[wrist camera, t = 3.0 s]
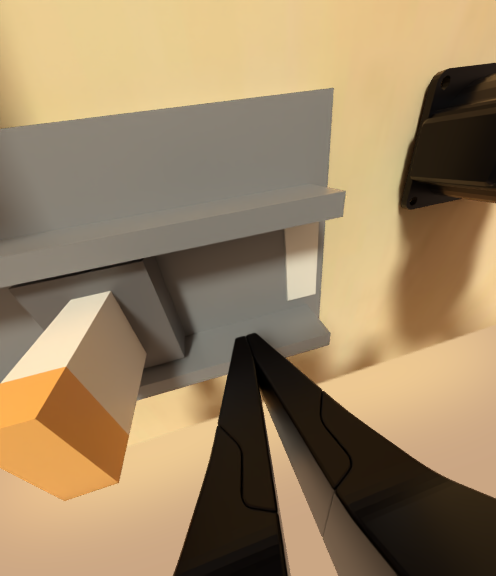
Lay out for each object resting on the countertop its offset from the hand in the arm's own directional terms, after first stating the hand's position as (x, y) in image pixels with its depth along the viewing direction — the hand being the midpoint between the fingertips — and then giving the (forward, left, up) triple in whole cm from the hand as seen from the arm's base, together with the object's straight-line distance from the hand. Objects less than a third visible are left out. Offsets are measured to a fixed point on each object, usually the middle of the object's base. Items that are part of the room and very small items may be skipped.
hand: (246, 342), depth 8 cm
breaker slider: (+6, 0, -5) cm, 8 cm away
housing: (+6, 0, -6) cm, 8 cm away
